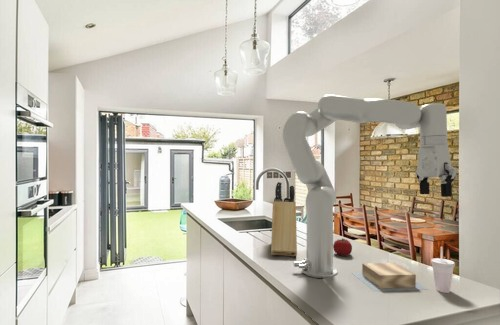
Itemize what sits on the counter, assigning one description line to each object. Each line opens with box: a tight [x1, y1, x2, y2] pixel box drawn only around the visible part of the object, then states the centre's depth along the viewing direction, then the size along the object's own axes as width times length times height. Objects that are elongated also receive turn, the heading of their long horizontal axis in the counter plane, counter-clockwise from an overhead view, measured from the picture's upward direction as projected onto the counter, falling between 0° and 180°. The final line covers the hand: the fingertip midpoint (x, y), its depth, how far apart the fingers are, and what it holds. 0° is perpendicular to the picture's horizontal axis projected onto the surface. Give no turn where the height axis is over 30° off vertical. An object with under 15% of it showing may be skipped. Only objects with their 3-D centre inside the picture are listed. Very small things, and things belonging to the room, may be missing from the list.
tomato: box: [333, 238, 353, 257], centre depth 137 cm, size 8×8×7 cm
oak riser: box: [361, 262, 417, 288], centre depth 104 cm, size 12×12×4 cm
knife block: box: [270, 181, 298, 257], centre depth 147 cm, size 11×35×31 cm, turn 174°
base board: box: [351, 272, 428, 292], centre depth 104 cm, size 18×16×1 cm
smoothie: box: [430, 246, 456, 294], centre depth 96 cm, size 6×6×14 cm
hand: (435, 195), depth 99 cm, fingers open, 9 cm apart
